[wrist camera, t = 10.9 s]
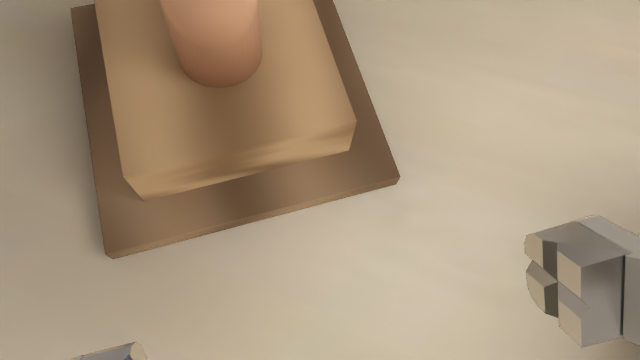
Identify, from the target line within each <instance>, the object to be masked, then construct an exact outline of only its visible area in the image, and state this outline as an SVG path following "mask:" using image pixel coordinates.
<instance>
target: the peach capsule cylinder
mask: <svg viewBox="0 0 640 360" xmlns="http://www.w3.org/2000/svg"><path fill="white" fill-rule="evenodd" d="M159 2H160V5H161V8H162V11H163V14H164V17H165V20H166V23H167V26H168V30H169V33H170V36H171V39H172V42H173V45H174V48H175V51H176V54H177V57H178V60H179V63H180V66H181V67H182V69H183V71H184V72H185V73H186V74H187V75H188V76H189V77H190V78H191V79H192V80H194V81H196V82H198V83H200V84H202V85H205V86H210V87H229V86H233V85H236V84H239V83H241V82H243V81H245V80H246V79H248V78H249V77H250V76H252V75H253V74H254V72H255V71H256V70H257V68H258V67H259V65H260V63H261V59H262V53H263V52H262V36H261V19H260V2H259V0H159Z"/></svg>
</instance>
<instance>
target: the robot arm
mask: <svg viewBox="0 0 640 360" xmlns="http://www.w3.org/2000/svg"><path fill="white" fill-rule="evenodd" d="M524 245H525V254H526V255H527V256H528V257H529V258H530V259H531V260H532V261H531V263H530V265H529V267H528V268H527V270H526V279H527V286H528V289H529V291H530V294H531V297H532V298H533V300H534V301H535V303H536V304H537V306H538V307H539V308H540V309H541V310H542V311H543V312H544V313H545V314H548V315H551V316H554V317H557V318H559V327H560V328H561V329H562V330H563V331H564V332H565V333H566V334H567V335H568V336H569V337H571V338H572V339H573V340H574V341H575V342H576V343H577V344H578V345H579V346H580V347H581V348H583V347H586V346H590V345H594V344H598V343H601V342H605V341H609V340H612V339H616V338H620V337H623V339H624V340H627V341H629V342H632V343H634V344H636V345H639V346H640V237H638V236H636V235H635V234H633V233H631V232H629V231H627V230H625V229H623V228H621V227H620V226H618V225H616V224H614V223H612V222H610V221H608V220H607V219H605V218H603V217H601V216H597V215H591V216H587V217H584V218H581V219H578V220H575V221H572V222H569V223H566V224H563V225H559V226H556V227H553V228H549V229H546V230H543V231H539V232H536V233H532V234H529V235H526V239H525V242H524ZM67 360H147V356H146V354H145V352H144V349H143V347H142V345H141V344H139V343H138V342H133V343H129V344H125V345H121V346H117V347H113V348H109V349H105V350H101V351H97V352H93V353H89V354H86V355H81V356H77V357H74V358H70V359H67Z"/></svg>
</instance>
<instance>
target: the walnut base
mask: <svg viewBox="0 0 640 360" xmlns="http://www.w3.org/2000/svg"><path fill="white" fill-rule="evenodd" d="M94 2H95V4H92V5H86V6H81V7H75V8H71V15H72V22H73V29H74V36H75V43H76V50H77V57H78V64H79V72H80V79H81V86H82V93H83V100H84V107H85V114H86V121H87V128H88V135H89V142H90V149H91V156H92V163H93V171H94V178H95V185H96V192H97V199H98V206H99V213H100V220H101V227H102V234H103V241H104V248H105V254H106V255H108V256H109V257H111V258H112V259H115V258H119V257H123V256H126V255H130V254H134V253H138V252H141V251H145V250H149V249H153V248H157V247H160V246H164V245H168V244H172V243H175V242H179V241H183V240H187V239H191V238H194V237H198V236H202V235H206V234H209V233H213V232H217V231H221V230H225V229H228V228H232V227H236V226H240V225H243V224H247V223H251V222H255V221H259V220H262V219H266V218H270V217H274V216H277V215H281V214H285V213H289V212H293V211H296V210H300V209H304V208H308V207H311V206H315V205H319V204H323V203H327V202H330V201H334V200H338V199H342V198H345V197H349V196H353V195H357V194H361V193H364V192H368V191H372V190H376V189H379V188H383V187H387V186H391V185H395V184H396V183H397V182H398V180H399V178H400V175H399V172H398V169H397V167H396V164H395V161H394V159H393V156H392V154H391V151H390V148H389V146H388V143H387V141H386V138H385V135H384V133H383V130H382V128H381V125H380V122H379V120H378V117H377V115H376V112H375V109H374V107H373V104H372V102H371V99H370V96H369V94H368V91H367V89H366V86H365V83H364V81H363V78H362V76H361V73H360V70H359V68H358V65H357V63H356V60H355V57H354V55H353V52H352V50H351V47H350V44H349V42H348V39H347V36H346V34H345V31H344V29H343V26H342V23H341V21H340V18H339V16H338V13H337V10H336V8H335V5H334V3H333V0H259V2H260V19H261V36H262V52H263V53H262V59H261V63H260V65H259V67H258V68H257V70H256V71H255V72H254V74H253V75H252V76H250V77H249V78H248V79H246V80H245V81H243V82H241V83H239V84H236V85H233V86H229V87H210V86H205V85H202V84H200V83H198V82H196V81H194V80H192V79H191V78H190V77H189V76H188V75H187V74H186V73H185V72H184V71H183V69H182V67H181V66H180V63H179V60H178V57H177V54H176V51H175V48H174V45H173V42H172V39H171V36H170V33H169V30H168V26H167V23H166V20H165V17H164V14H163V11H162V8H161V5H160V2H159V0H94Z"/></svg>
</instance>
